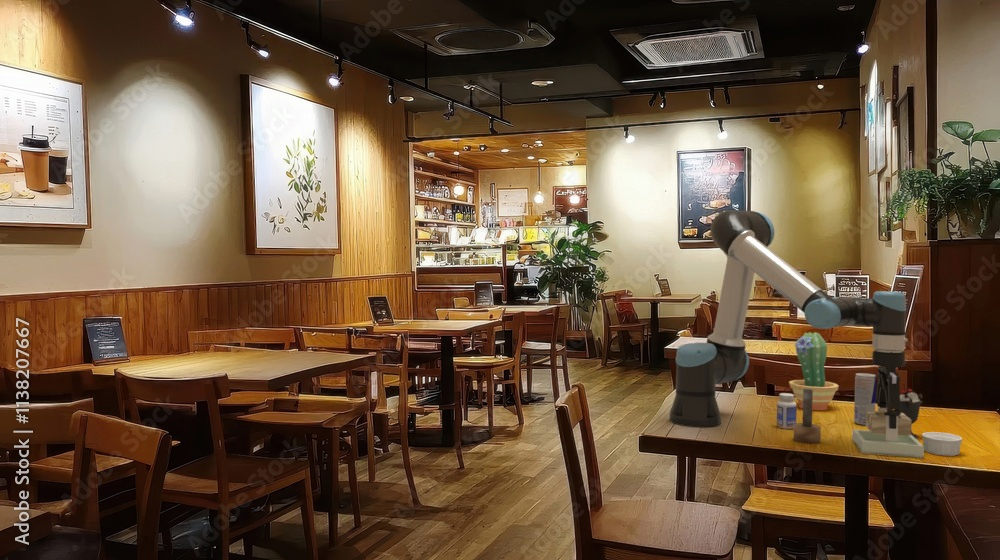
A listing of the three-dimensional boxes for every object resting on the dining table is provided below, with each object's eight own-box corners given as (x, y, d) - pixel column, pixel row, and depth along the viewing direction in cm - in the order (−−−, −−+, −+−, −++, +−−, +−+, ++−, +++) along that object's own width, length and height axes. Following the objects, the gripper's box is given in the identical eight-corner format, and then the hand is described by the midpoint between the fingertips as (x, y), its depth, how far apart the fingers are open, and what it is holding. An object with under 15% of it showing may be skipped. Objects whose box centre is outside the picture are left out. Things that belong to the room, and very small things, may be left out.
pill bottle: (797, 426, 216) (798, 393, 216) (794, 430, 211) (795, 396, 211) (778, 424, 219) (778, 392, 219) (774, 427, 214) (775, 394, 214)
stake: (794, 442, 197) (795, 391, 197) (792, 436, 204) (793, 386, 203) (822, 444, 195) (823, 392, 195) (818, 438, 202) (819, 388, 201)
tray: (862, 453, 187) (862, 441, 187) (852, 440, 200) (852, 429, 200) (923, 458, 183) (923, 446, 183) (909, 444, 196) (909, 433, 196)
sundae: (891, 436, 205) (893, 383, 205) (899, 432, 210) (901, 380, 209) (918, 440, 200) (919, 386, 200) (925, 436, 205) (926, 383, 205)
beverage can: (877, 426, 217) (878, 376, 216) (857, 425, 218) (858, 375, 217) (871, 422, 222) (872, 373, 222) (852, 421, 223) (853, 372, 223)
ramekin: (952, 459, 182) (952, 442, 182) (915, 451, 190) (915, 434, 189) (967, 453, 188) (968, 436, 187) (931, 446, 195) (931, 430, 195)
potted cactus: (781, 402, 252) (782, 330, 251) (827, 403, 251) (828, 330, 250) (797, 412, 236) (799, 335, 235) (846, 412, 236) (848, 335, 235)
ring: (911, 435, 185) (911, 419, 185) (872, 433, 188) (872, 417, 188) (902, 427, 194) (902, 412, 194) (865, 425, 197) (865, 410, 197)
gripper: (915, 356, 179) (914, 447, 180) (895, 346, 200) (893, 428, 200) (881, 355, 181) (880, 445, 182) (864, 345, 202) (863, 426, 203)
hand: (887, 436), depth 191 cm, fingers closed on ring, 9 cm apart
